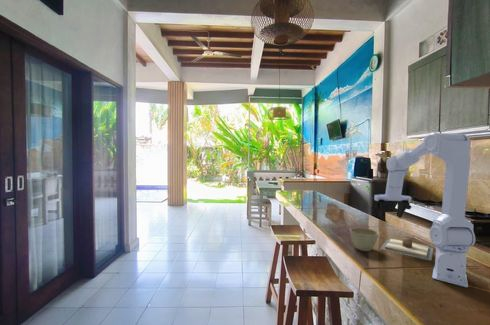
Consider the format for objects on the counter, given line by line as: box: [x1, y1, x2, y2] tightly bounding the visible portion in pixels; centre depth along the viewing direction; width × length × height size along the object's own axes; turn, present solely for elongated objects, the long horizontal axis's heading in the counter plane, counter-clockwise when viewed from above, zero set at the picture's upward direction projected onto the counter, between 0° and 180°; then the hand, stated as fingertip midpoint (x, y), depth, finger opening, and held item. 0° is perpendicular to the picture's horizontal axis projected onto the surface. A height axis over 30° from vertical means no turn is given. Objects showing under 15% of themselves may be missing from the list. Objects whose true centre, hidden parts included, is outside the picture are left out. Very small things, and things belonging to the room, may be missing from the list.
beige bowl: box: [349, 227, 379, 252], centre depth 98 cm, size 10×10×7 cm
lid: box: [385, 236, 430, 258], centre depth 99 cm, size 13×13×4 cm
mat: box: [379, 238, 434, 261], centre depth 99 cm, size 16×16×1 cm
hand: (389, 216), depth 108 cm, fingers open, 7 cm apart
